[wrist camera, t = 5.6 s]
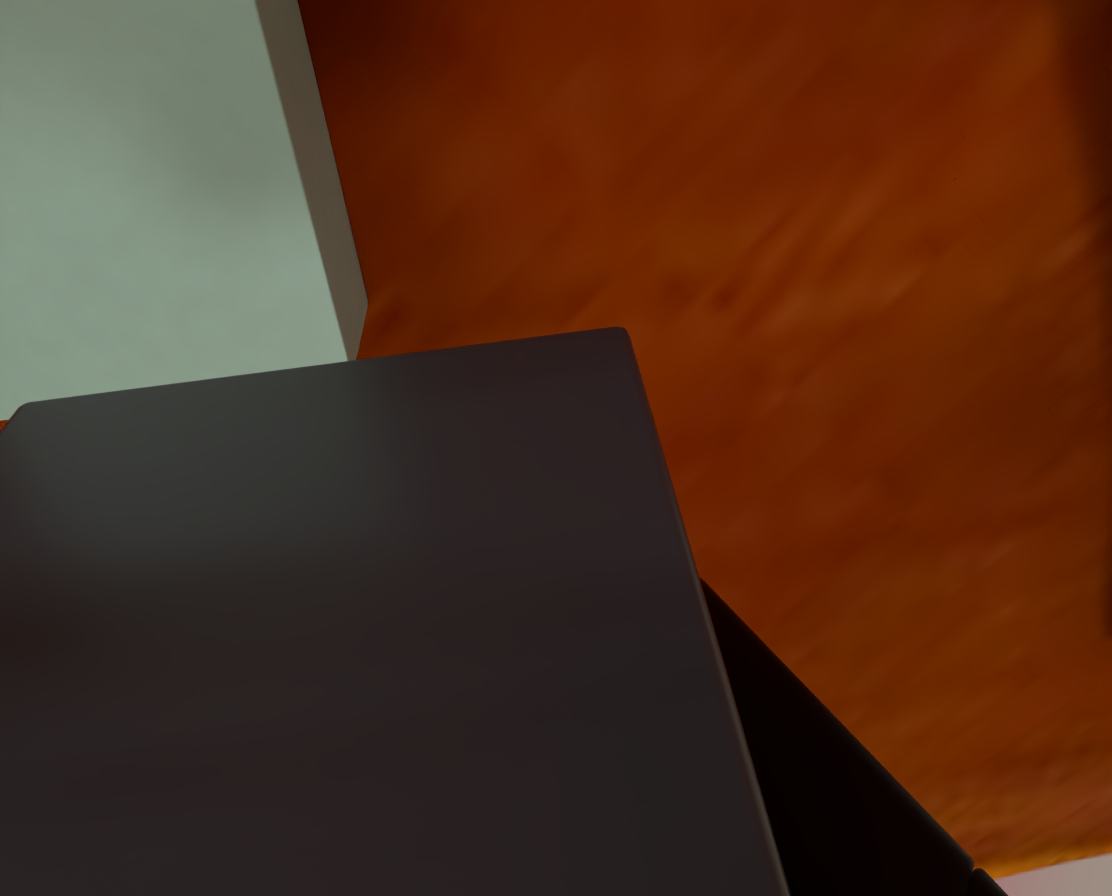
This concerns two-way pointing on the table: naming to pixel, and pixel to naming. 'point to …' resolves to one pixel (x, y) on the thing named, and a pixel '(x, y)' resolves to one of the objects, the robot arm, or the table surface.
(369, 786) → the block
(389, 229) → the table surface
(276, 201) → the pocket book
